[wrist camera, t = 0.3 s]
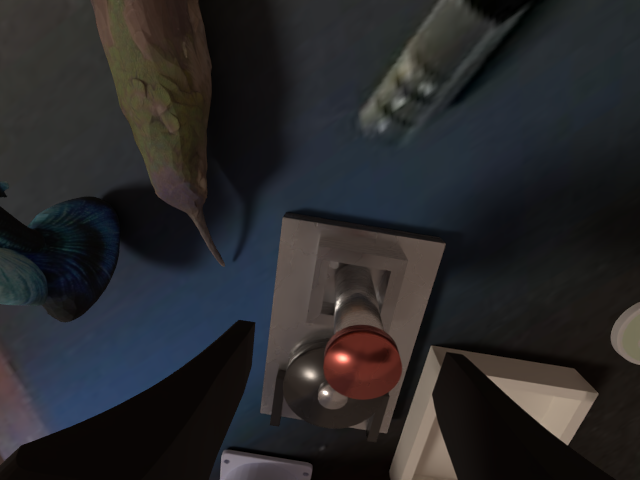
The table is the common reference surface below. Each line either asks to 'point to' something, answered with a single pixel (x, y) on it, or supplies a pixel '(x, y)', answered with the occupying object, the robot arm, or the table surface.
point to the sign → (628, 334)
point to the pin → (359, 340)
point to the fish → (59, 256)
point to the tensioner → (318, 315)
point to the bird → (163, 93)
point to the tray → (514, 380)
